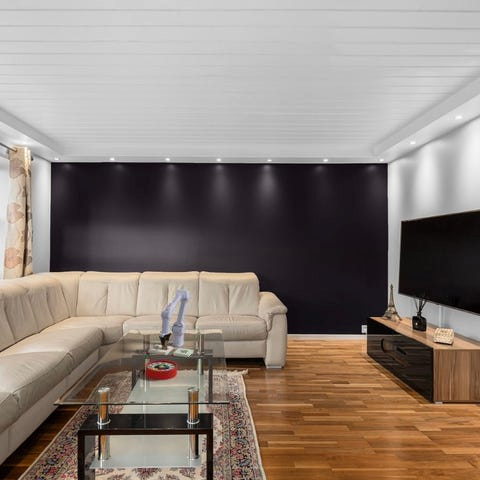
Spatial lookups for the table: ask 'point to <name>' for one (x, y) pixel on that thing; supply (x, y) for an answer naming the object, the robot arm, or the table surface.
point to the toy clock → (161, 369)
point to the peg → (165, 345)
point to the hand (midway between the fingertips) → (164, 344)
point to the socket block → (160, 350)
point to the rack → (185, 351)
